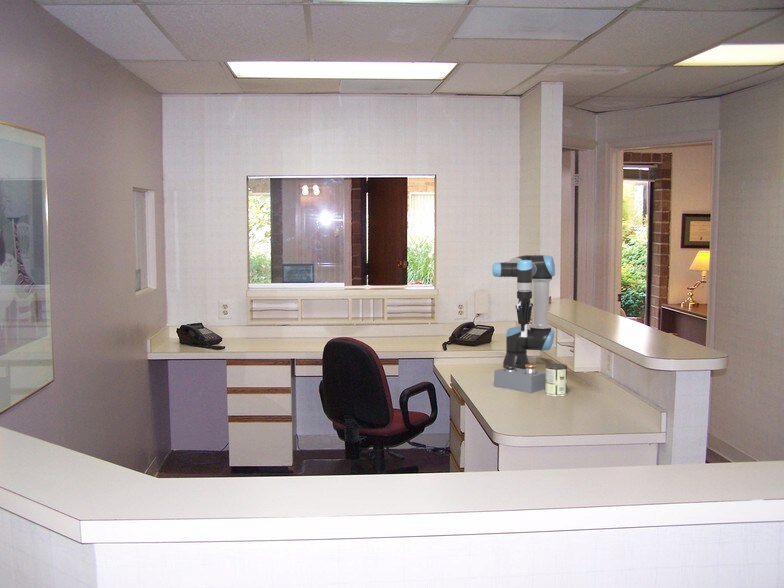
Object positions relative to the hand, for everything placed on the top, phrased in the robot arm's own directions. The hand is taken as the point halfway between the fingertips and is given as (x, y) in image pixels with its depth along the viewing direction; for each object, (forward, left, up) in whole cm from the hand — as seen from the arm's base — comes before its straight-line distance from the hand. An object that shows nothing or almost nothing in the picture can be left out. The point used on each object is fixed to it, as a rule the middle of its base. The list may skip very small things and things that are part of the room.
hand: (524, 336), depth 362 cm
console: (+6, +2, -25) cm, 26 cm away
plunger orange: (+6, +8, -21) cm, 23 cm away
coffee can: (+7, +23, -25) cm, 35 cm away
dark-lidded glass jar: (+6, -4, -23) cm, 24 cm away
